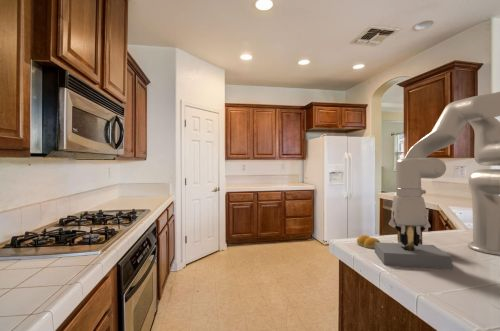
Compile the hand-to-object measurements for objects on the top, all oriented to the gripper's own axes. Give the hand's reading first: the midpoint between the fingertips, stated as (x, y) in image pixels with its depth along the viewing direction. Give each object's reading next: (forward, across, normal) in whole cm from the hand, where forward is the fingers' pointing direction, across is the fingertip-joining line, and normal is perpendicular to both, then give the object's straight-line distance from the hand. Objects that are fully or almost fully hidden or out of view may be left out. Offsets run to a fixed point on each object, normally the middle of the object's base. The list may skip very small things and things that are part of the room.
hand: (409, 244), depth 88 cm
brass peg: (+3, 0, 0) cm, 3 cm away
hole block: (+6, 0, 0) cm, 6 cm away
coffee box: (+6, -6, -17) cm, 19 cm away
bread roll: (+6, +10, -15) cm, 19 cm away
